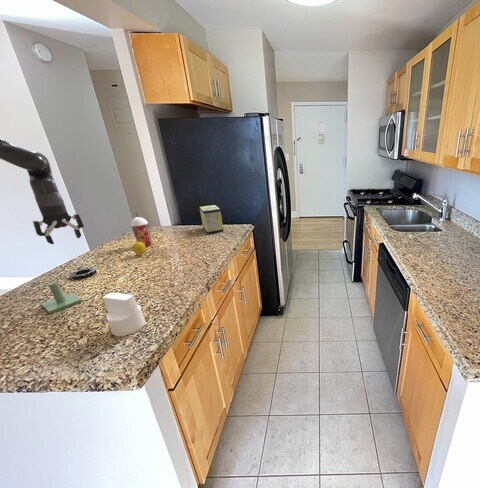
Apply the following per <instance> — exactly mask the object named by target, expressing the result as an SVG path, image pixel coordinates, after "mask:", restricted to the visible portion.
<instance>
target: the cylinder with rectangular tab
mask: <svg viewBox="0 0 480 488" xmlns="http://www.w3.org/2000/svg"><path fill="white" fill-rule="evenodd" d="M102 299H103V302H104V304H105V307H106V310H107V312H108V313H107V315H106V320H107V323H108V325H109V328H110V331H111V333H112V335H113V336H115V337H125V336H129V335H131V334H134V333H136V332H138V331H139V330H140V329H142V328H143V327H144V326H145V324H146V320H145V317H144V313H143V311H142V307H141V305H140V304H137V301H136V300H137V299H136V297H135V295H134V294H128V293H120V292H109V293H107V294H105V295H104V296H102Z"/></svg>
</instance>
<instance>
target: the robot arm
mask: <svg viewBox="0 0 480 488" xmlns="http://www.w3.org/2000/svg"><path fill="white" fill-rule="evenodd" d="M0 160H2V161H4V162H7V163H8V164H11V165H14V166H16V167H18V168H21V169H23V170H26V171H27V174H28V177H29V181H28V182H29V185H30V189H31V190H32V193H33V195H34V196H33V197H34V199H35V202H36V204H37V207H38V209H39V212H40V214H41V217H42V219H41V220H40V219H39V220H33V221H32V224H33V227H34V230H35V233H36V235H37V236H39V237H45V239H46V241H47V243H48V244H50V245H54V244H55V242H54V240H53V237H52V235H51V233H52V232H53V231H54V229H56V230H57V229H61V228H66V227H67V226H68V227H70V228H72V229H73V232H74V234H75V237H76V238H77V239H81V237H82V233H81V231H80V230H81V229H82V228H84V227H85V225H84V223H83V221H82V219H81V217H80V214H78V213H74V214H71V215H70V214H69V213H68V209H67V208H66V207H67V206H66V205H65V202H64V199H63V197H62V195H61V193H60V191H59V189H58V186H57V183H56V181H55V178H54V175H53V171H52V167H51V164H50V162H49V160H48V158H47V156H46V155H44V154H43V153H41V152H38V151H33V150H32V151H31V150H28V149H25V148H23V147H20V146H17V145H15V144H13V143H11V142H10V141H7V140H5V139H2V138H0ZM72 219H73V220H75V222H76V224H77V225H75V224H73V223H72V222H70V221H71V220H72ZM43 224H45V225H46V228H45V230H44V231H42V228H41V227H42V226H43Z"/></svg>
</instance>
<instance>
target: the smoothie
mask: <svg viewBox="0 0 480 488" xmlns="http://www.w3.org/2000/svg"><path fill="white" fill-rule="evenodd" d="M135 215H136V217H133V218H132V220H131V222H130V224H129V225H130V227H131V230H132V233H133V235H134V237H135V240H136V242H137V241H138V242H142V243H143V244H144V245H145V247H147V248H148V247H150V246H151V245H152V243H153V242H152V236H151V231H150V227H149V221H147V219H146V218H144V217H142V216H139V215H138V212H135Z"/></svg>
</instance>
